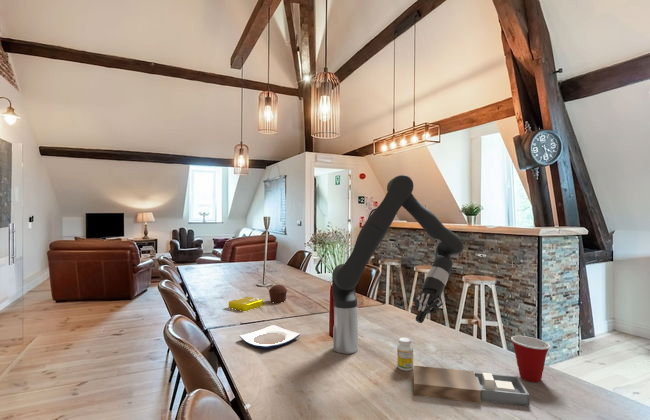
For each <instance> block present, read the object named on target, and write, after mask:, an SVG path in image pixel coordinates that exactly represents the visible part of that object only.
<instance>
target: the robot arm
mask: <svg viewBox="0 0 650 420" xmlns="http://www.w3.org/2000/svg"><path fill="white" fill-rule="evenodd" d="M413 190H414V182H413V180H412V178H411V177H410V176H408V175H405V174H400V175H397V176H394V177H393V178H392V179H391V180H389V181H388V183H387V185H386V191H387V193H386V194H385V196H384V198H383V199H382V201H381V202H380V204H379V205H378V206H377V207H376V208H375V210H373V212H372V213H371V214H370V215H369V216H368V218H367V219H366V221H365V223H364V224H363V226H362V227H361V229H360V230H359V232H358V235H357V236H356V237H357V238H356V240H355V244H354V246H353V249H352V251H351V254H350V255H349V256H348V258H347V259H346V261H345V262H344V263H341V264H337V266H336V267H334V269H333V270H332V273H331V274H332V275H331V280H332V281H331V283H332V299H333V316H334V317H333V320H334V323H333V327H332V328H333V329H332V330H333V331H332V336H333V337H332V339H333V340H332V341H333V342H332V343H333V344H332V345H333V352H337V353H338V354H345V355H346V354H354V353H356V352H358V351H359V329H358V327H359V319H358V314H359V313H358V298H357V294H356V286H357V285H358V284H359V282H360V279H361V278H362V274H363V272H364V270H365V268H366V267H367V264H368V262H369V260H370V259H371V258H372V257H373V255H374V253H375V252H376V251H377V250H378V246H379V245H380V244H381V243H382V241H383V240H384V238H385V236H386V234H387V232H388V231H389V229H390V227H391V225H392V223H393V221H394V220H395V218H396V215H397V214H398V213H399V210H400V208H401V207H403V208H404V209H405V211H407V212H408V214H410V216H412V218H413V219H415V221H416V222H417V223H418V224H419V225H420V227H421V228H422V229H423V230H424V231H425V233H427V235H428V236H429V238H431V239H432V240H438V241H439V242H438V244H437V246H436V249H435V256H434V260H433V262H432V265H431V267H430V269H429V271H428V272H427V275H426V277H425V279H424V281H423V284H422V286H421V288H422V291H421V292H420V293H419V296H417V295H416V296H413V303H414V307H415V309H416V310H417V311H418V312H417V314H416V316H415V322H417V323H419V324H423V322H424V321H425V318H426V316H427V315H428V314H430V315H432V314H433V313H434V312H436V311H437V310H438V309H439V308H441V307H442V306H443V304H444V303H443V302H442V301H441V300H440V297H441V296H442V295H443V292H444V290H445V288H446V285H447V282H448V280H449V275H450V274H451V270H452V268H453V266H454V265H453V261H452V259H451V257H452V256H455V255H458V254H461V253H462V252H463V250H464V242H463V241H462V238H460V237H459V236H458V235H457V234H456V233H455V232H453V231H452V230H450V229H449V228H447V227H446V226H445V225H444V224H443V223H442V222H441V221H440V219H439V218H438V217H437V216H436V215H435V214H434V213H433V212H432V211H431V210H430V209H429V208H427V207H426V206H424V205H423V204H422V203H421V202H420V201H419V200H418V199H417V198H416V197H415V196H414V194H413Z"/></svg>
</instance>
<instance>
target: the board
mask: <svg viewBox="0 0 650 420" xmlns="http://www.w3.org/2000/svg"><path fill="white" fill-rule="evenodd" d="M413 396H416V397H424V398H431V399H432V398H434V399H442V400H443V399H444V400H449V401H450V400H452V401H460V402H467V403H476V404H481V402H482V401H481V394H480V388H479V385H478V382H477V380H476V377H475V372H474V370H466V369H464V370H463V369H453V368H445V367H444V368H443V367H432V366H421V365H413Z"/></svg>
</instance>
